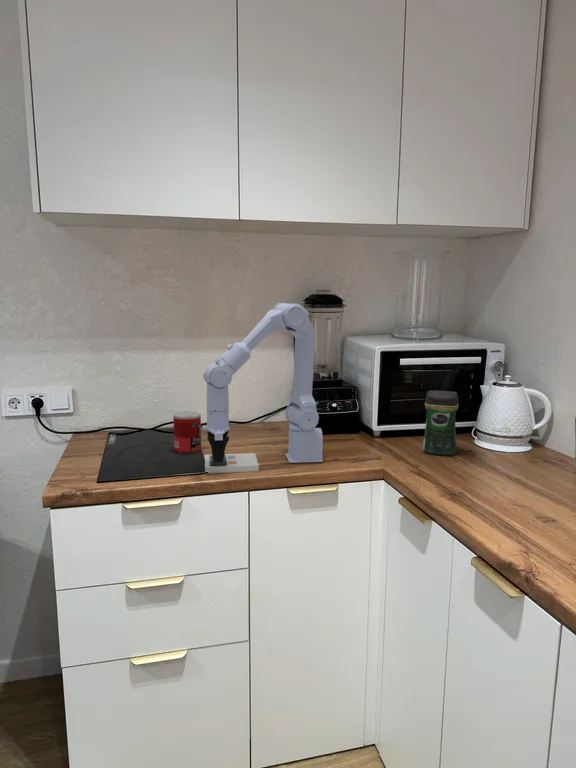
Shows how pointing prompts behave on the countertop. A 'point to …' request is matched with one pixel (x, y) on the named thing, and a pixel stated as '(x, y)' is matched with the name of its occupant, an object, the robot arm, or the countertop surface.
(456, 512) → the countertop surface
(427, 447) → the coffee jar
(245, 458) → the socket board
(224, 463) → the plug
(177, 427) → the canned food
